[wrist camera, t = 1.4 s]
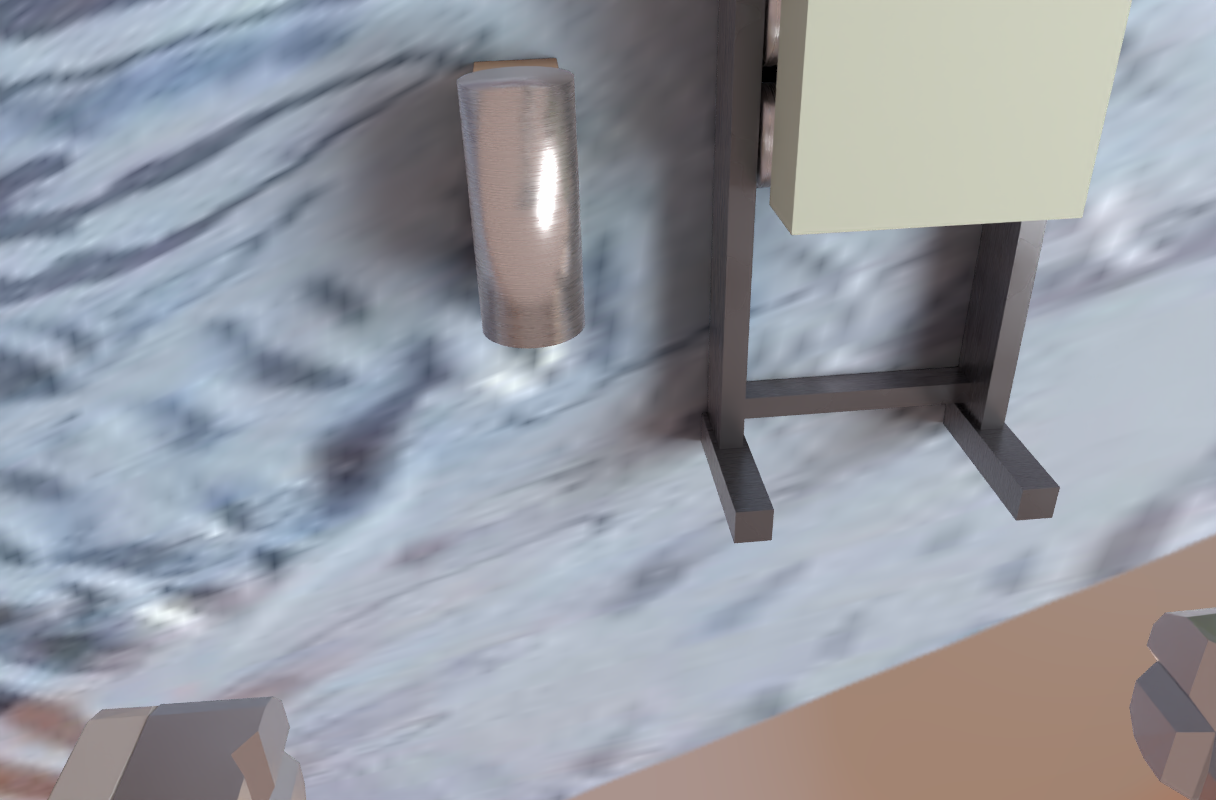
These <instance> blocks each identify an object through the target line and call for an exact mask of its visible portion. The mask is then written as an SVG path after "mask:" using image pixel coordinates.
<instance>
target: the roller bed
mask: <svg viewBox="0 0 1216 800" xmlns="http://www.w3.org/2000/svg"><path fill="white" fill-rule="evenodd" d="M780 16H781V0H719V8H718V44H717V80H716V116H715V152H714V189H713V225H712V261H711V297H710V333H709V370H708V406H707V413H702V428H701V442H702V445H703V448H704V451H705V455H706V458H707V461H708V464H709V467H710V470H711V473H712V476H713V479H714V482H715V485H716V489H717V492H718V495H719V498H720V501H721V504H722V507H723V510H724V513H725V516H726V519H727V522H728V526H729V529H730V532H731V535H732V538H733V541H734V543H743V542H755V541H767V540H772V528H773V514H774V509H773V506H772V504H771V501H770V499H769V496H768V494H767V491H766V489H765V486H764V484H763V481H762V479H761V476H760V474H759V471H758V469H757V466H756V464H755V461H754V459H753V456H752V454H751V451H750V449H749V446H748V444H747V441H746V439H745V436H744V419H746V418H760V417H774V416H787V415H801V414H815V413H829V412H843V411H857V410H870V409H884V408H898V407H912V406H926V405H940V404H947V405H946V410H945V416H944V422H943V424H944V425H945V426H946V428H947V429H948V430H949V432H950V433H951V434H952V436H953V437H954V438H955V440H956V441H957V442H958V444H959V445H960V446H961V448H962V449H963V450H964V452H965V453H966V454H967V456H968V457H969V458H970V460H971V461H972V462H973V464H974V465H975V466H976V468H977V469H978V470H979V472H980V473H981V474H982V476H983V477H984V478H985V480H986V481H987V482H988V484H989V485H990V486H991V488H992V489H993V490H994V492H995V493H996V494H997V496H998V497H999V498H1000V500H1001V501H1002V502H1003V504H1004V505H1005V506H1006V508H1007V509H1008V510H1009V512H1010V513H1011V514H1012V516H1013V517H1014V518H1015V520H1028V519H1040V518H1052V516H1053V512H1054V508H1055V504H1056V500H1057V496H1058V492H1059V488H1060V487H1059V486H1058V484H1057V483H1056V482H1055V481H1054V480H1053V479H1052V477H1051V476H1050V475H1049V474H1048V473H1047V472H1046V470H1045V469H1044V468H1043V467H1042V466H1041V465H1040V463H1039V462H1038V461H1037V460H1036V459H1035V458H1034V456H1033V455H1032V454H1031V453H1030V452H1029V451H1028V449H1027V448H1026V447H1025V446H1024V445H1023V444H1022V443H1021V441H1020V440H1019V439H1018V438H1017V437H1016V436H1015V434H1014V433H1013V432H1012V431H1011V430H1010V429H1009V427H1008V426H1007V425H1006V424H1005V423H1004V421H1005V417H1006V412H1007V407H1008V402H1009V398H1010V393H1011V388H1012V383H1013V379H1014V374H1015V369H1016V365H1017V360H1018V355H1019V350H1020V346H1021V341H1022V336H1023V331H1024V327H1025V322H1026V317H1027V312H1028V308H1029V303H1030V298H1031V293H1032V289H1033V284H1034V279H1035V274H1036V270H1037V265H1038V260H1039V255H1040V251H1041V246H1042V241H1043V237H1044V232H1045V227H1046V222H1047V220H1035V221H1019V222H1002V223H986V224H983V230H982V236H981V241H980V247H979V253H978V258H977V264H976V270H975V275H974V281H973V287H972V292H971V298H970V304H969V309H968V315H967V321H966V326H965V332H964V338H963V343H962V349H961V355H960V360H959V366H958V367H950V368H935V369H921V370H907V371H892V372H878V373H864V374H849V375H835V376H821V377H806V378H792V379H778V380H763V381H749V382H746V377H747V357H748V337H749V318H750V298H751V278H752V258H753V238H754V219H755V199H756V188H763V187H771V170H772V153H773V136H774V119H775V102H776V85H777V82H765V83H761V80H762V67H771V66H778V50H779V33H780Z"/></svg>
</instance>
